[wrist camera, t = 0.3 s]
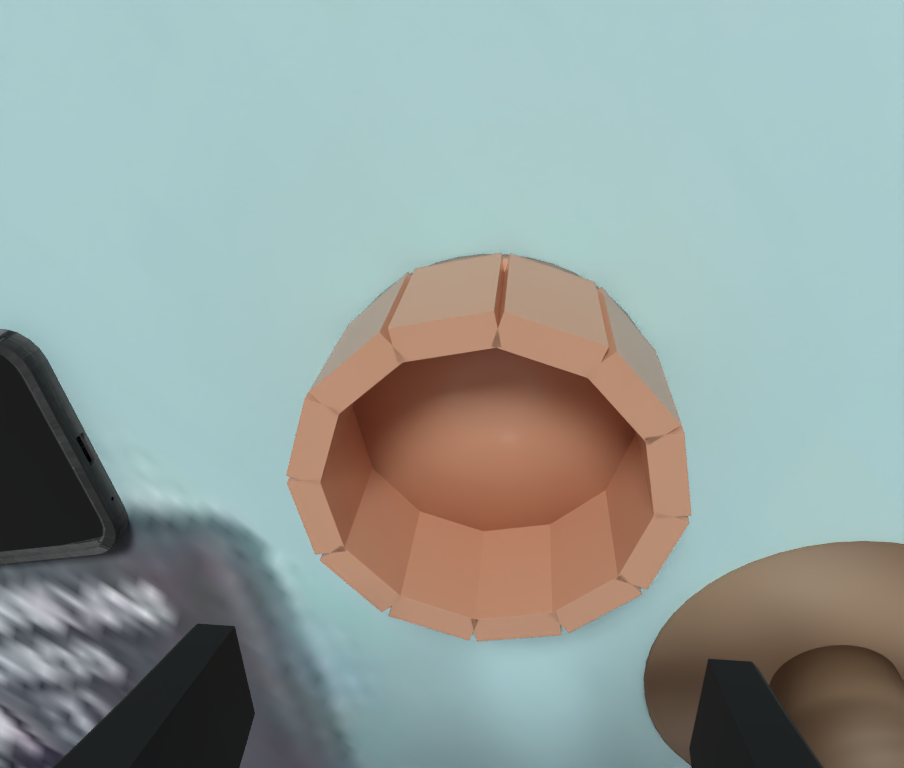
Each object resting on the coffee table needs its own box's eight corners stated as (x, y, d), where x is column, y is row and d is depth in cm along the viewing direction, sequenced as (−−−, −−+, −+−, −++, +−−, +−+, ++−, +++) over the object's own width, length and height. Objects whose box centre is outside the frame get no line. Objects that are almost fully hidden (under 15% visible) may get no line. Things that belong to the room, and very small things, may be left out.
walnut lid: (1004, 777, 25) (1094, 925, 21) (658, 789, 27) (680, 925, 23) (1060, 511, 20) (1195, 641, 16) (624, 554, 22) (645, 676, 18)
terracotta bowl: (672, 519, 21) (700, 624, 17) (382, 549, 22) (353, 650, 19) (643, 222, 17) (671, 280, 13) (292, 287, 18) (235, 353, 15)
